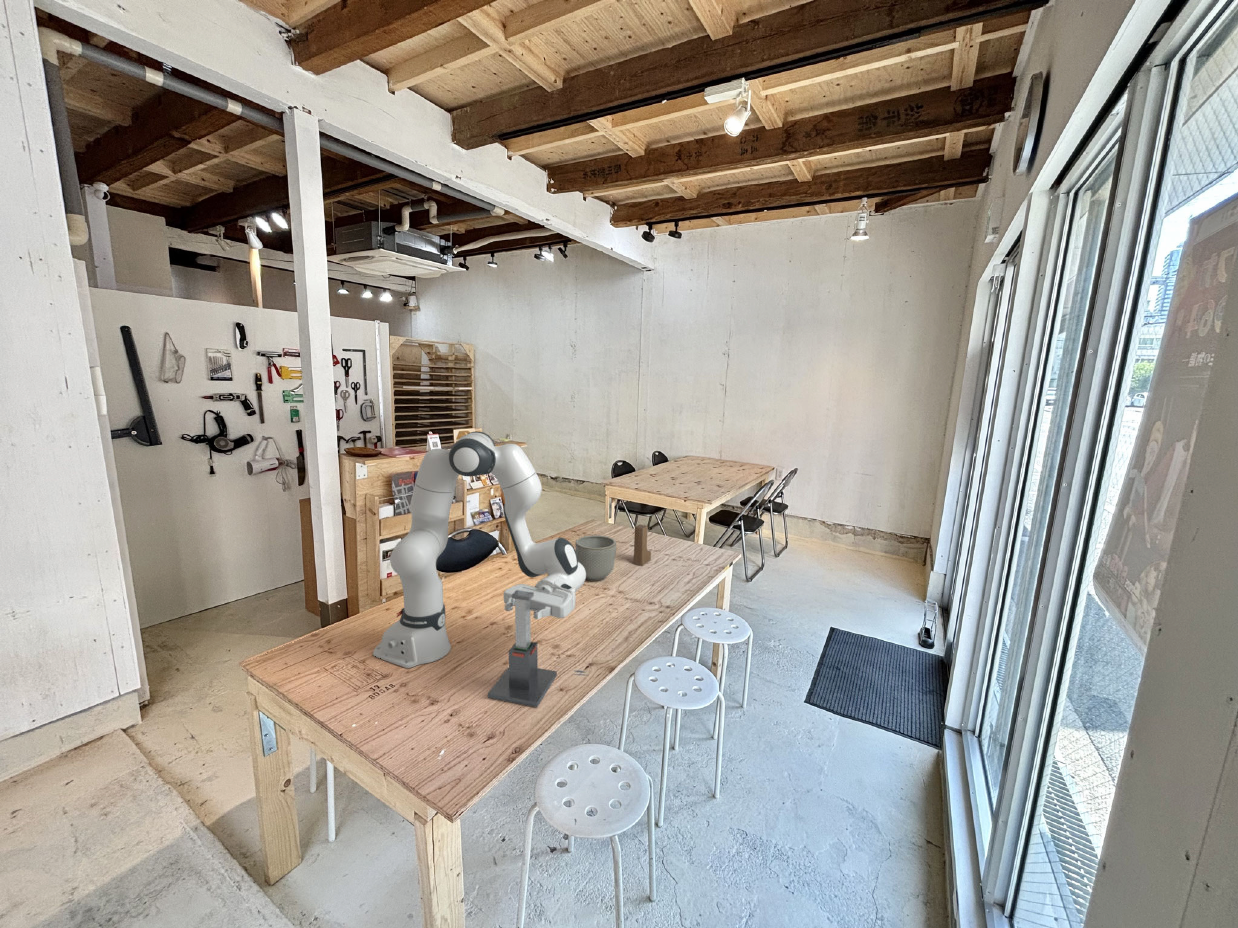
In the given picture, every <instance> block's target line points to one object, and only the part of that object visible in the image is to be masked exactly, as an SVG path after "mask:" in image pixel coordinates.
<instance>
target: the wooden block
mask: <svg viewBox="0 0 1238 928" xmlns="http://www.w3.org/2000/svg"><path fill="white" fill-rule="evenodd" d="M648 528H649V527H648V525H645V524H644V525H643V524H638V525H635V526H634V541H633V549H634V550H633V565H637V566H640V567H643V566H644V565H646V564H647V563H648V562H650V561H651V560H652V557H651V556H652V551H651V550H648Z"/></svg>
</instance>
